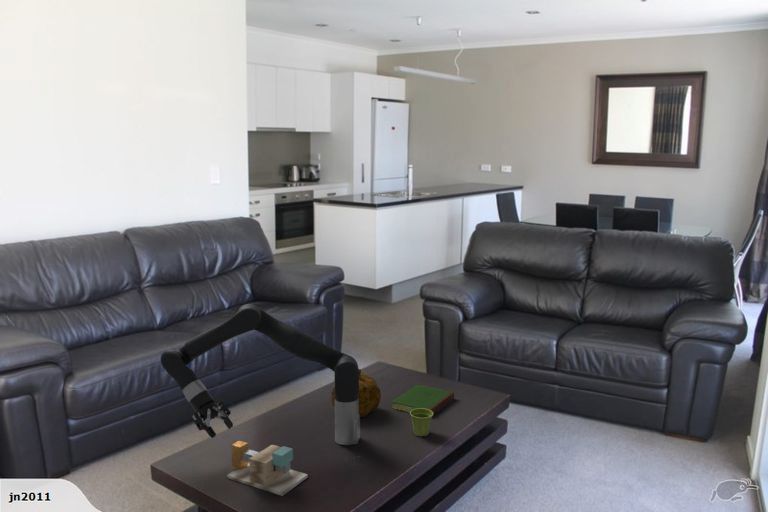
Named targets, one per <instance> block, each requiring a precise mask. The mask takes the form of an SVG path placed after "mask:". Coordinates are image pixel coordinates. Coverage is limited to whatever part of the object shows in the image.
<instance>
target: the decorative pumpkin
mask: <svg viewBox="0 0 768 512" xmlns="http://www.w3.org/2000/svg"><path fill="white" fill-rule="evenodd" d="M358 369H359V415H360V418H364V417H366V416H368V414H369V413H371V412H373V411H375V410H377V409H378V407H379V405H380V402H381V398H382V396H381V395H382V394H381V389H380V388H379V386H378V383H377V381H376V379H374V377H372V376H371V375H367V374H365V373H362V370H361V369H360V368H358ZM333 386H334V387H332V389H333V390H331V393H330V399H331V401H330V402H331V404H332V406H333V408H334V409H335V385H333Z"/></svg>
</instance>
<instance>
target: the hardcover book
mask: <svg viewBox="0 0 768 512" xmlns="http://www.w3.org/2000/svg"><path fill="white" fill-rule="evenodd" d="M453 400H455V392H454V391H448V390H445V389H441V388H435V387H431V386H426V385H421V384H416V385H415V386H413V387H412V388H410V389H409V390H407V391H405V392H404V393H403V394H401V395H399V396H398V397H396V398H395V399H393V400H391V404H392V406H391V407H392V409H393V408H394V410H397V409H398V411H401V410H402V412H406V413H409V414H410V411H411V410H413V409H417V408H425V409H429V410H431V411H432V412H433V416H434V415H435V414H436V413H438V412H439V411H440V410H441V409H443V408H444V407H446V406H447V405H449V403H450V402H453Z"/></svg>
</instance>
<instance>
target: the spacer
mask: <svg viewBox="0 0 768 512" xmlns="http://www.w3.org/2000/svg"><path fill="white" fill-rule="evenodd" d="M280 447H281V448H280V449H278V450H276V451H275V452H273V453H272V463H273V465H276V466H280V467H283V466H285V465H286V464H288V463H289V462H292V461H293V460H294V448H292V447H288V446H285V445H283V446H280Z"/></svg>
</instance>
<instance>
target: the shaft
mask: <svg viewBox="0 0 768 512" xmlns="http://www.w3.org/2000/svg"><path fill="white" fill-rule="evenodd" d="M259 452H260V451H256V450H253V449H249V443H248V442H245V441H241V440H238V441H235V442H234V443H233V444H231V466H232V467H234V468H236V469H237V468H240V469H242V468H243V467H245V466H247V465H248V464H249V458H251V457H253V456H254V455H256V454H258V453H259ZM291 462H292V461H290V462H289V463H288V464H286V465H285V466H283V467H280V466H276V465H273V466H274V470H275V471H278V472H282V473H287V472H288V471H290V470H292V467H291Z"/></svg>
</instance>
